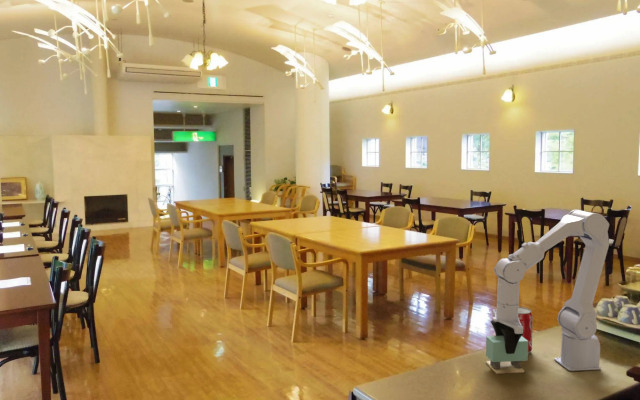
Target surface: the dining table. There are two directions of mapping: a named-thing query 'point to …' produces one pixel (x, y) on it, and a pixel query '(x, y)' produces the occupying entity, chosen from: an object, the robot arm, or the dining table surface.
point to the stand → (505, 366)
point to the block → (498, 351)
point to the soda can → (526, 325)
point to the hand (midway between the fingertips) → (505, 349)
